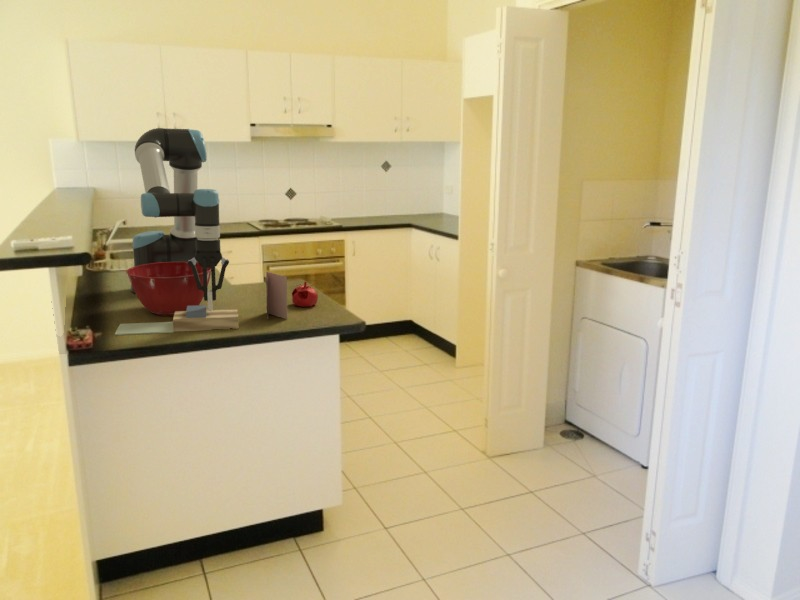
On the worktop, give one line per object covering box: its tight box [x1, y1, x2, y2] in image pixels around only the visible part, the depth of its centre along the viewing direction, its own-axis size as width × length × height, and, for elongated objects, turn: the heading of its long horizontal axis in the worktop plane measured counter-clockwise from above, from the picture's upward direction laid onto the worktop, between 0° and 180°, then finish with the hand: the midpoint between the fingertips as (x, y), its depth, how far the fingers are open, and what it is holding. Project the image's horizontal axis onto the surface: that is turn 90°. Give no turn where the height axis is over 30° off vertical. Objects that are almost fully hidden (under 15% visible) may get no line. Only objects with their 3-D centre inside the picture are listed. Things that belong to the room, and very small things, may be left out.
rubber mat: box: [114, 321, 175, 336], centre depth 201 cm, size 11×17×1 cm, turn 106°
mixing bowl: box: [125, 262, 211, 317], centre depth 221 cm, size 28×28×15 cm
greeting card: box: [263, 271, 288, 320], centre depth 218 cm, size 11×7×15 cm, turn 13°
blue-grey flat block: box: [186, 304, 208, 318], centre depth 204 cm, size 8×6×2 cm
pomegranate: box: [291, 280, 319, 308], centre depth 236 cm, size 10×10×9 cm
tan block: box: [172, 308, 240, 333], centre depth 206 cm, size 10×20×4 cm, turn 106°
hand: (210, 310), depth 205 cm, fingers closed
